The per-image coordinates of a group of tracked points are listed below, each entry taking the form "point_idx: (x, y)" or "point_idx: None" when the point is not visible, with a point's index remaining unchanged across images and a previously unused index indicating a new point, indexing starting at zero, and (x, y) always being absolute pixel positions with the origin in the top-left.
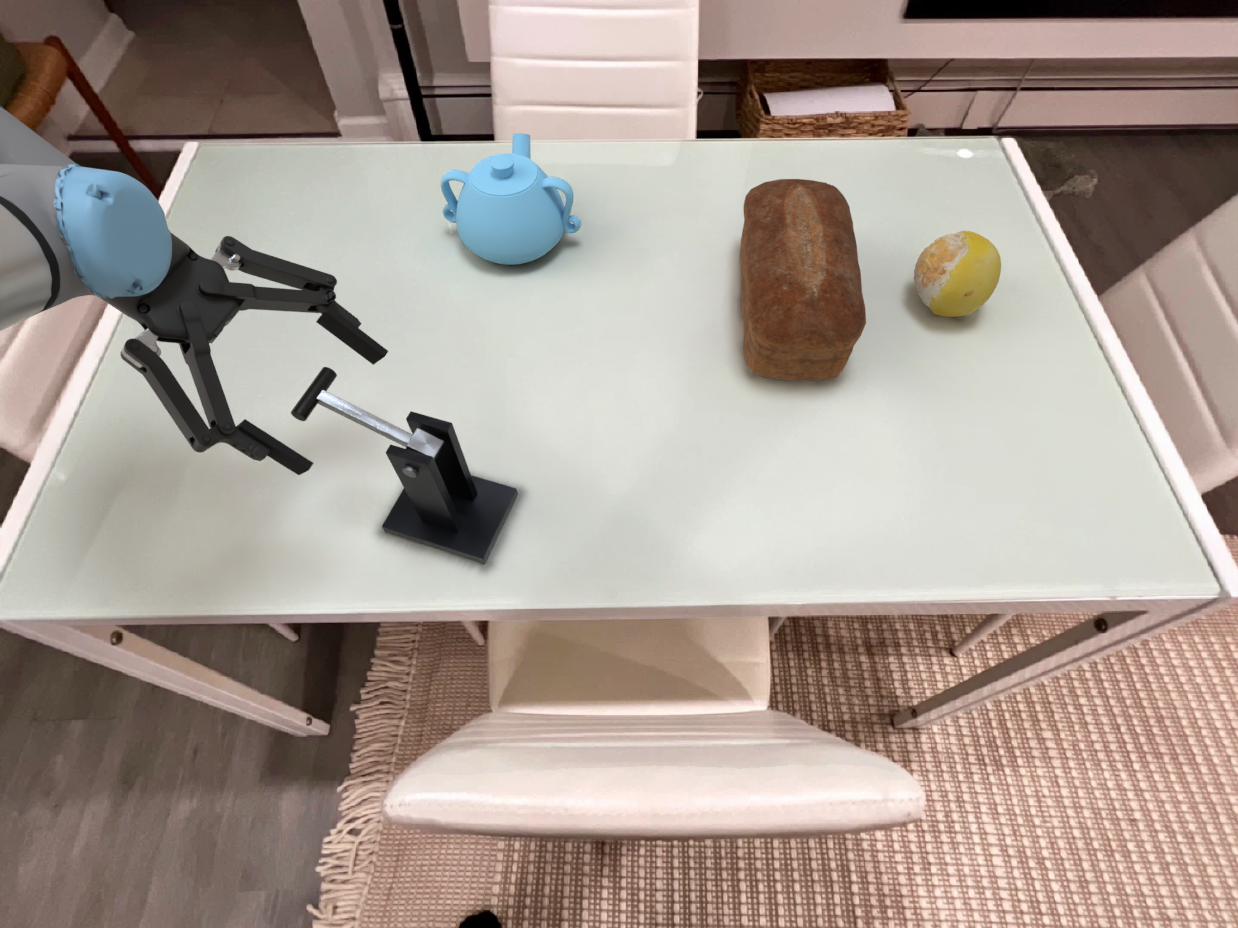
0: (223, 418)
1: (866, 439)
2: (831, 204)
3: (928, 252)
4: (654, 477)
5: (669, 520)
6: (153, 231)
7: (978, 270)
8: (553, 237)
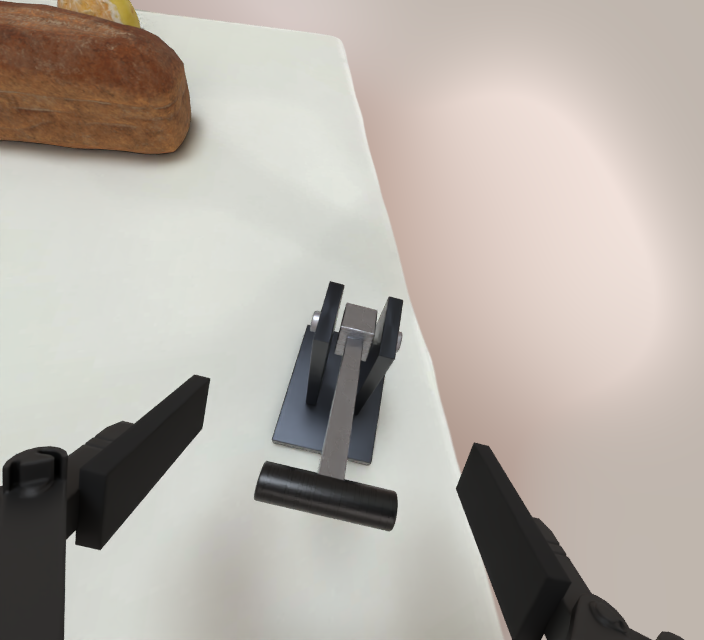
0: (606, 638)
1: (247, 113)
2: None
3: (76, 5)
4: (283, 226)
5: (324, 219)
6: None
7: None
8: None
